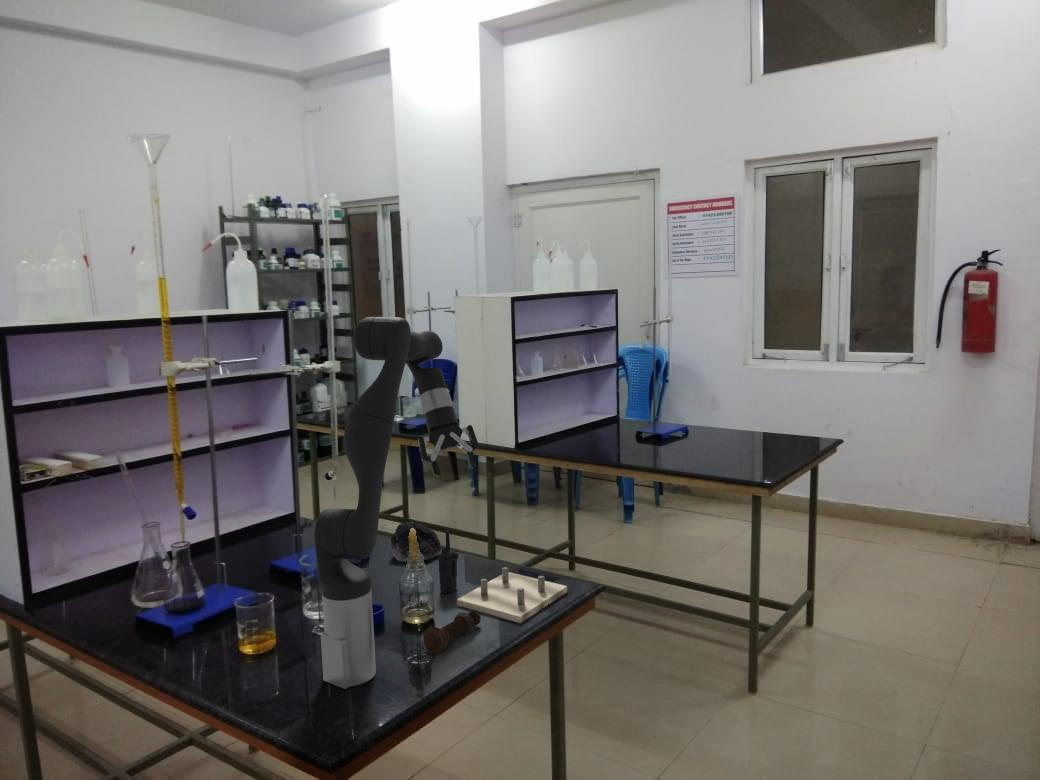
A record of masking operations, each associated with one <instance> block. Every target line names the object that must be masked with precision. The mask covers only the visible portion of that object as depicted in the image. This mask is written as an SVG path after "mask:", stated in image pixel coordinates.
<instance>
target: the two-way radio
mask: <svg viewBox="0 0 1040 780" xmlns="http://www.w3.org/2000/svg"><path fill="white" fill-rule="evenodd" d="M458 558H459V552H456V551H455V550H454V549H451V542H450V530H449V529H446V530H445V546H444V547H441V551H440V554H439V555H438V572H439V575H438V577H439V591H440V592H441V593H443V594H450V593H452V592H453V591H455V590H456V589H457V576H458V565H457V564H458Z"/></svg>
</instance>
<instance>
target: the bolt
mask: <svg viewBox="0 0 1040 780" xmlns="http://www.w3.org/2000/svg"><path fill="white" fill-rule="evenodd" d="M481 618H482V617H481V615H480V614H479V613H478V612H476V611H475V610H471V611H469V612H462V611H460V612H459V613H457V614H456V615H455V617H454V618H453V621H451V622H449V623H447V624H445V625H444V626H442V627H441V628H439V627H436V626H433V625H431V626H429V627H428V628H427V629H426V630H425V632H424V634H423V637H422V640H423V644H424V647H425V648H426V650H427V651H428V652H429V653H432V654H435V655H441V654H443V653H444V652H445V649H447V646H448V644H449V642H450V641H452V640H454V639H456V638H457V637H459V636H460V635H461V636H468V635H470V634H471V633H472V631H473V630H474V628H475V626H477V625H479V624H480V623H481Z"/></svg>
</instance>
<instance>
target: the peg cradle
mask: <svg viewBox="0 0 1040 780" xmlns="http://www.w3.org/2000/svg"><path fill="white" fill-rule="evenodd" d="M545 578H546V577H545V576H544V575H538V577H537V578H535V577H532V576H528V575H527V576H526V575H522V574H519V573H513V572H510V571H509V567H506V566H505V567H502V568H501V574H499V575H498V576H497V577H494V578H493V579H491V580H489V581H488V579H487V578H482V579H480V586H478V587H476V588H475V589H473V590H471V591H469V592H467V593H466V594H464V595H462V596H461V597H458V598H457V600H456V605H457V606H458V607H462V608H464V609H465V608H466V609H469V610H471V611H475V612H476V611H477V612H479V613H483V614H486V615H489V616H494V617H497V618H501V619H504V620H508V621H512V622H515V623H518V624H522V623H523V622H524V621H526V620H527V619H529V618H531V617H532V616H534V615H535V614H536V613H538V612H539V610H540V611H541V610H543V609H544V608H545V607H547V606H548V604H549V605H550V604H552V603H553V602H554V601H557V600H558V599H559V598H561V597H562V596H563V595H565V594H567V593H568V586H567V585H564V584H560V583H555V582H552V581H547V580H545ZM542 608H543V609H542Z"/></svg>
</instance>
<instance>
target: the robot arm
mask: <svg viewBox="0 0 1040 780" xmlns="http://www.w3.org/2000/svg"><path fill="white" fill-rule="evenodd" d="M353 343H354V348H355V350H356V353H357V354H358V356H360V358H362V359H366V360H370V361H384V362H383V365H382V368H381V370H380V372H379V374H378V376H376V378H375V380H374V381H373V382H372V383H371V384H370V385H369V387H367V389H366V390H365V391H364V392H363V393H362V394H361V395H360V396H359V398H357V399H356V401H355V402H354V403H353V405H352V406H351V407H350V409H349V411H348V415H347V418H346V423H345V427H344V432H343V433H344V434H343V440H342V444H343V445H342V446H343V449H344V453H345V455H346V458H347V460H348V462H349V464H350V467H351V468H352V471H353V473H354V476H355V479H356V481H357V487H358V500H357V505H356V509H354V508H353V509H351V508H325V509H324V510H322V511H320V513H319V514H318V516H317V519H316V521H315V523H314V530H313V531H314V534H313V535H314V536H313V541H314V549H315V550H314V551H315V558H316V564H317V565H316V567H317V575H318V576H317V577H318V580H319V584H320V588H321V595H322V599H321V600H322V611H323V612H322V613H323V628H324V629H323V630H324V632H323V633H321V634H320V646H321V647H320V648H321V664H322V677H323V679H322V680H323V681H324V682H327V683H329V684H330V685H331V684H332V685H334V686H336V687H338V688H341V689H344V690H346V689H348V688H350V687H356V686H359V685H362V684H365V683H368V682H369V681H370V680H372V679H373V678H374V677H375V675H376V673H377V670H376V669H377V667H376V650H375V649H376V648H375V633H374V632H375V631H374V615H373V613H374V612H373V594H372V579H371V575H370V574H369V572H367V571H366V570H365V569H363V568H361V567H359V566H357V565H355V564H354V563H352V562H351V561H350V560H365V559H368V558H369V557H370V556H371V555H372V553H373V551H374V549H375V546H376V543H377V539H378V538H377V537H378V530H379V521H380V510H381V502H382V501H381V499H382V493H383V492H382V491H383V490H382V489H383V484H384V483H383V481H384V478H385V477H384V475H385V470H386V465H387V460H388V454H389V450H390V446H391V441H392V435H393V434H392V433H393V428H394V421H395V416H396V415H395V414H396V408H397V403H398V397H399V396H398V395H399V390H400V386H401V382H402V378H403V375H404V369H405V366H407V367H408V369H409V370H410V372H411V374H412V376H413V378H414V380H415V381H414V382H415V383H416V387H417V391H418V394H419V398H420V405H421V411H422V413H423V416H424V419H425V422H426V423H425V424H426V427H427V431H428V436H425V437H424V436H419V437H418V439H417V445H418V448H419V450H418V451H419V454H420V459H421V460H420V461H421V462H422V463H428V464H430V467H431V471H432V474H433V475H434V476H435V477H436V478H440V477H441V476H442V475H441V471H440V468H439V464H438V463H439V462H438V461H437V460H436V459H437V457H438V454H439V452H440V451H443V452H444V451H447V450H449V449H451V450H452V449H455V448H456V447H457V448H458V449H460V450H462V451H463V452H465V453H466V454H465V456H466V459H467V463H468V467H469V470H472V469H474V468H475V466H476V464H477V463H476V458H475V456H474V451H476V450H477V449H478V448H479V447H480V445H479V441H478V439H477V435H476V433H475V431H474V428H473V425H471V424H468V426H466V427H465V426H464V427H462V428H461V427H460V425H459V422H458V418H457V415H456V412H455V409H454V408H455V407H454V404H453V401H452V398H451V395H450V393H449V391H448V387H447V384H446V381H445V376H444V373H443V371H442V369H440V368H438V367H426V368H425V367H424V368H423V367H422V366H421V365H422V364H423V363H426V362H428V361H432V360H434V359H436V358H438V357H440V355H441V354H442V352H443V348H444V347H443V342H442V339H441V338H440V336H439V335H438V334H437V333H436V332H434V331H432V330H421V331H413V330H412V329H411V326H410V323H409V321H408V320H407V319H406V318H403V317H398V316H397V317H395V316H368V317H364V318H362V319H360V320H359V321H358V322H357V324H356V326H355V328H354V335H353ZM462 434H464V435H465V436H467V437H468V440H469V442H470V445H469V444H468V443H467V442H466V441H465V440H463V439H462V438H461V437H462ZM429 442H430V443H431V444H432V445H433V446H434V448H433V450H432V452H431V455H428V453H427V448H426V447H427V446H428V443H429ZM349 559H350V560H349Z"/></svg>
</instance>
